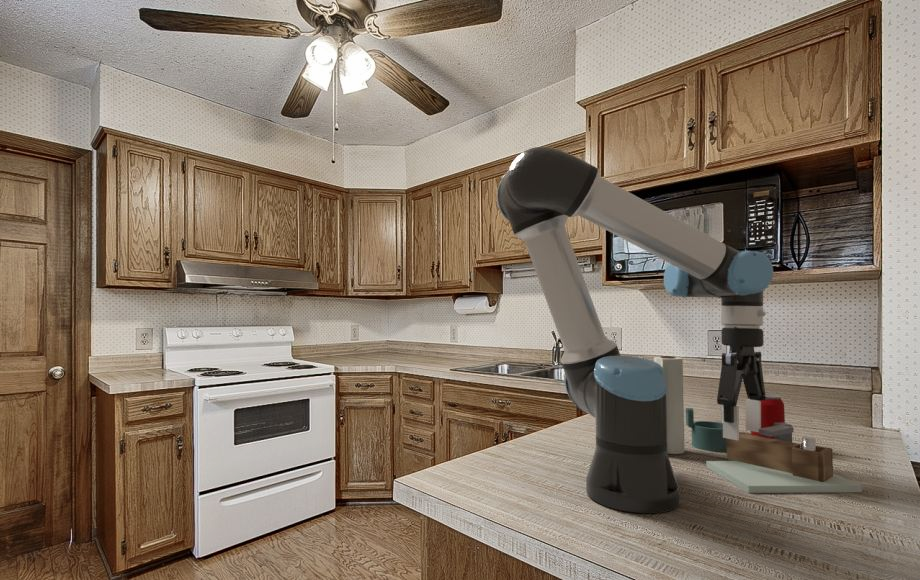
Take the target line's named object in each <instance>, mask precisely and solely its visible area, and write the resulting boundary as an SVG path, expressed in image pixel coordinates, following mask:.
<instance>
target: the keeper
mask: <svg viewBox="0 0 920 580" xmlns="http://www.w3.org/2000/svg"><path fill="white" fill-rule="evenodd" d="M794 432H795V431H794V426H792V424H790V423H787V422H785V423H784V422H776V423H774V426H772V427H766V428H761V429H759V434H760V435H765V436H769V437H774V439H776V440H781V441H787V442H792V443H793V433H794Z"/></svg>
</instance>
